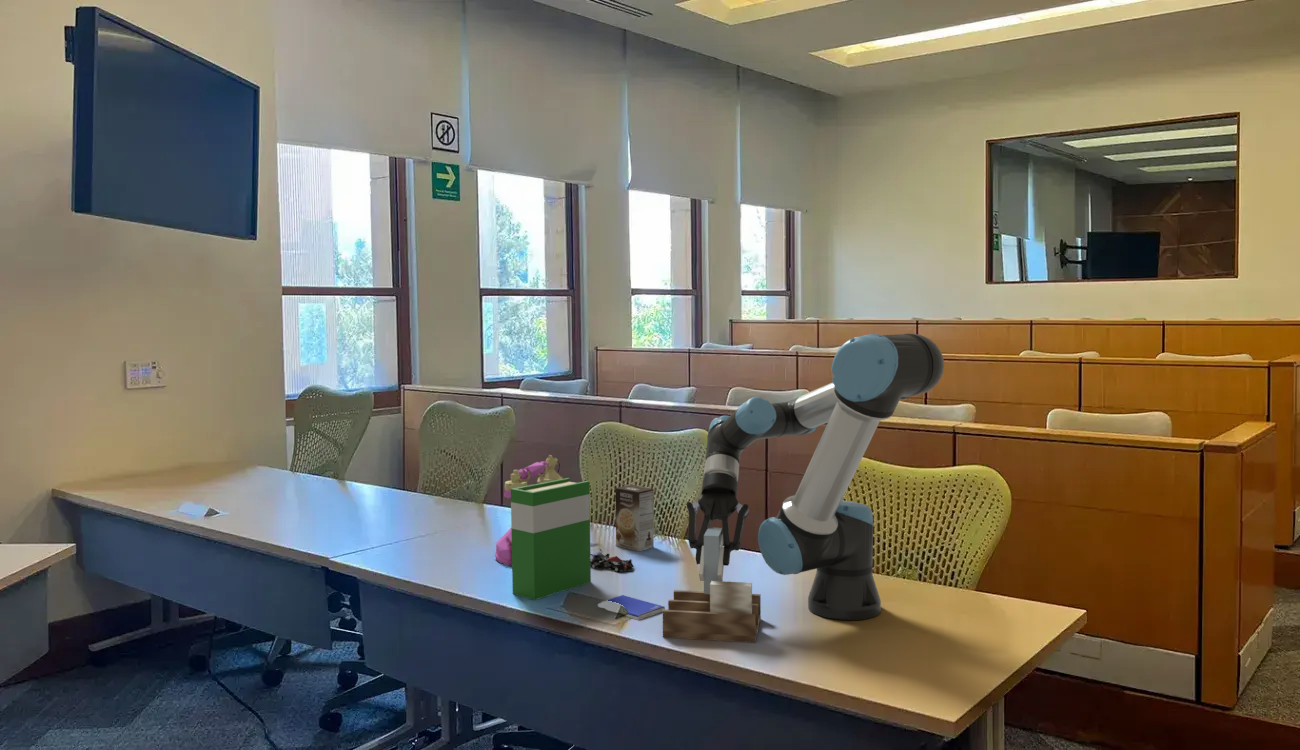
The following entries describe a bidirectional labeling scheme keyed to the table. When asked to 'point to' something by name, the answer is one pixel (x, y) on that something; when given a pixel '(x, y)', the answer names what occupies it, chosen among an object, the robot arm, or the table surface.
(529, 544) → the hardback book
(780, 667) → the table surface
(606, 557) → the toy car
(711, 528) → the grey upright pillar
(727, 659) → the table surface
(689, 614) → the rack
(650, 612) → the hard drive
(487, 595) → the table surface
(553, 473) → the telephone
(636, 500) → the coffee box
